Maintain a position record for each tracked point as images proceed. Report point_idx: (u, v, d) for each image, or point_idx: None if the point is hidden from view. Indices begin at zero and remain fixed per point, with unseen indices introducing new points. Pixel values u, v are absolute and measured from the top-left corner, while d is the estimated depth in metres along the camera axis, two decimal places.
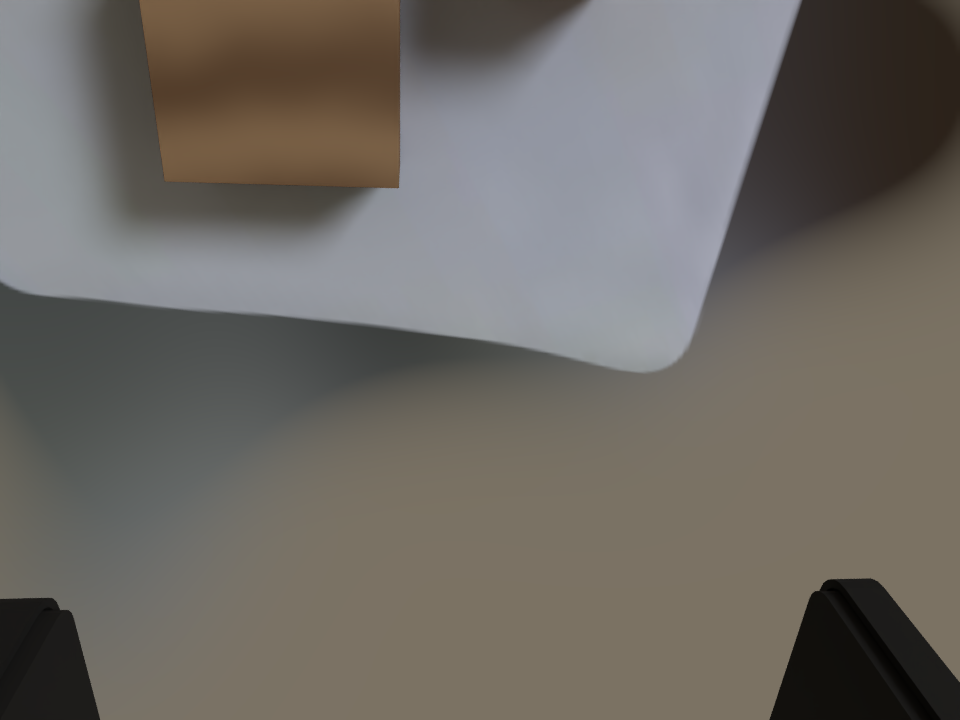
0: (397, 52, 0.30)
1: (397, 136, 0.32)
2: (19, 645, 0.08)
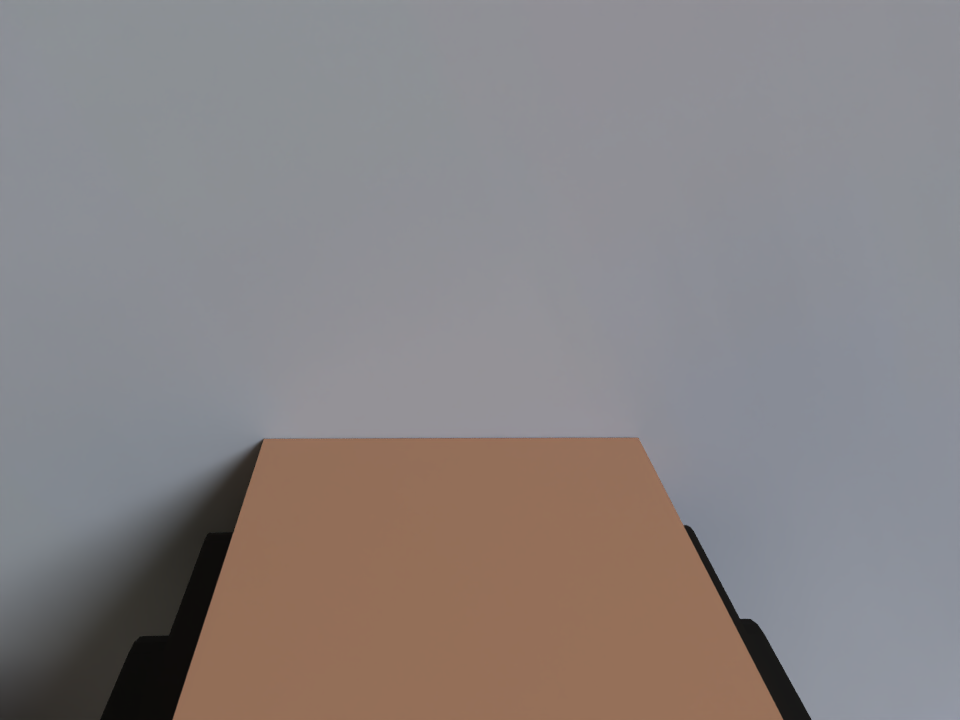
0: None
1: None
2: None
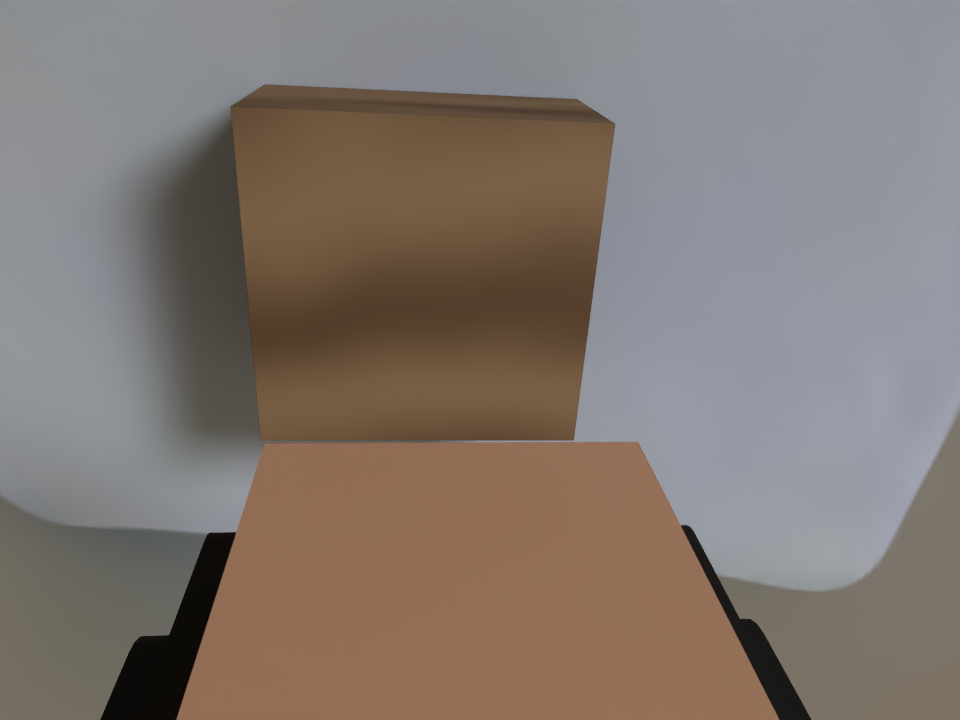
0: (592, 279, 0.22)
1: (579, 380, 0.23)
2: None
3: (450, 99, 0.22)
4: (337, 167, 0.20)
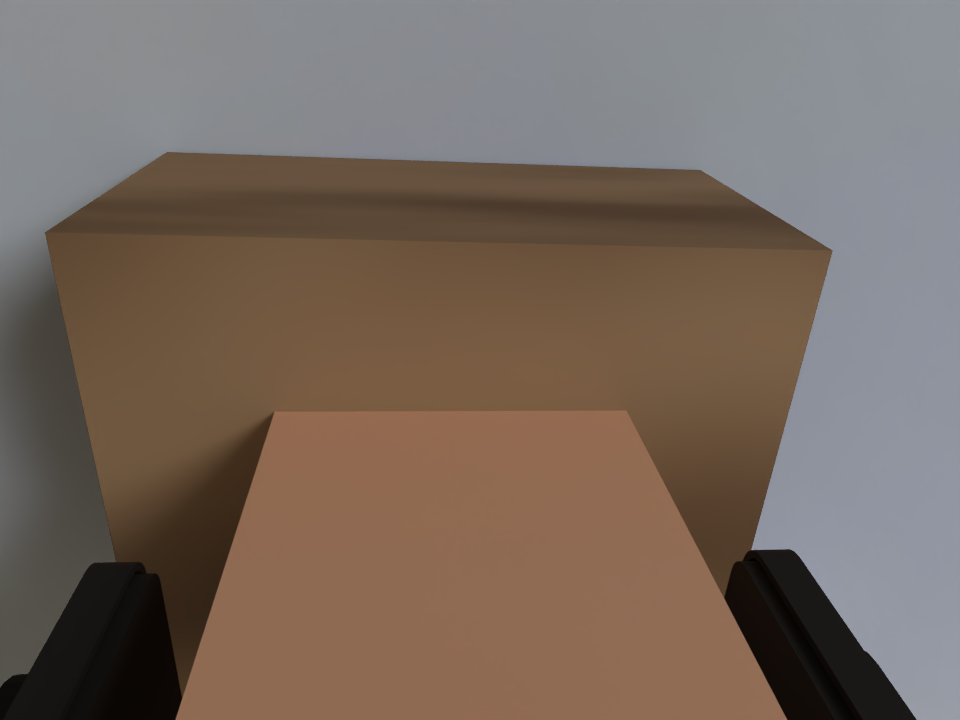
0: (756, 515, 0.12)
1: None
2: (119, 603, 0.08)
3: (491, 181, 0.13)
4: (276, 341, 0.10)
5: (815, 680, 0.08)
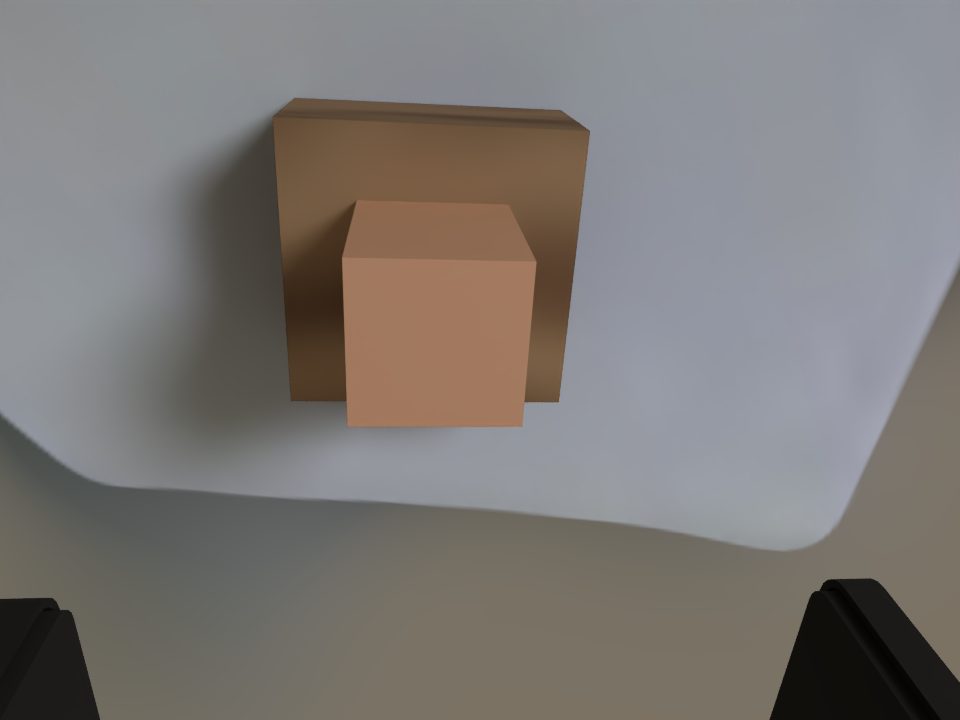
0: (573, 262, 0.26)
1: (563, 349, 0.27)
2: (19, 645, 0.08)
3: (452, 110, 0.26)
4: (359, 166, 0.24)
5: None
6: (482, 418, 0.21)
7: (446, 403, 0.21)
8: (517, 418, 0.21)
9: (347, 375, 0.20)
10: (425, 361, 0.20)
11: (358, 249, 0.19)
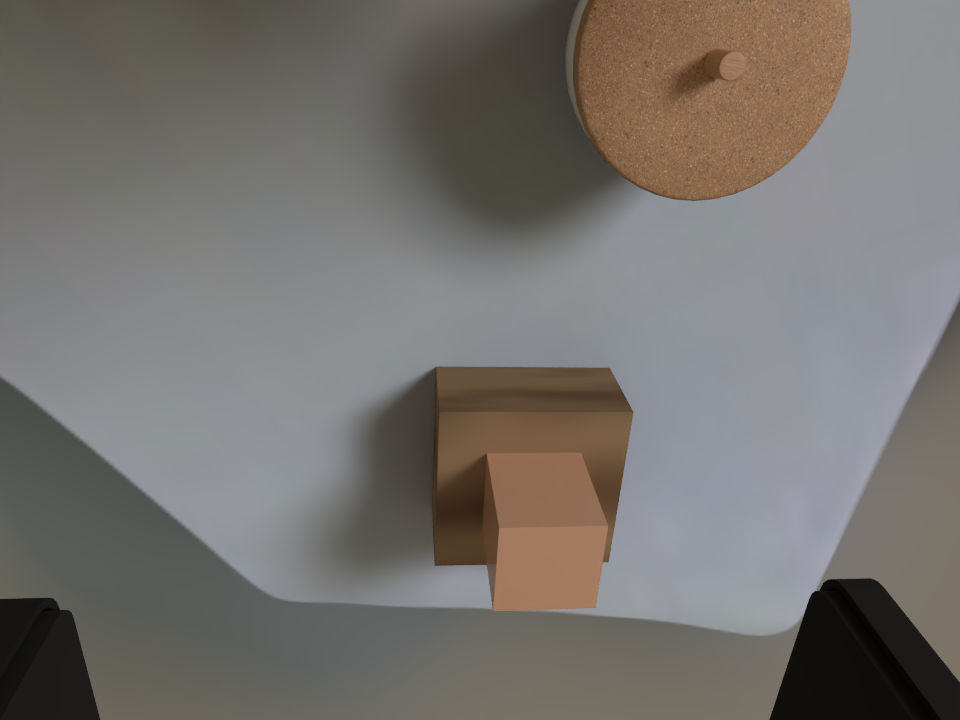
0: (620, 482, 0.40)
1: (612, 531, 0.41)
2: (19, 645, 0.08)
3: (541, 379, 0.41)
4: (489, 435, 0.38)
5: None
6: (572, 604, 0.35)
7: (551, 597, 0.35)
8: (593, 603, 0.36)
9: (495, 584, 0.35)
10: (541, 576, 0.35)
11: (505, 517, 0.34)
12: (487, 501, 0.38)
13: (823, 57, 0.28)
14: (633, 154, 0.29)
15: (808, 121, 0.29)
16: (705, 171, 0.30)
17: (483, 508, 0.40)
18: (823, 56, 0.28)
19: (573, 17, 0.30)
